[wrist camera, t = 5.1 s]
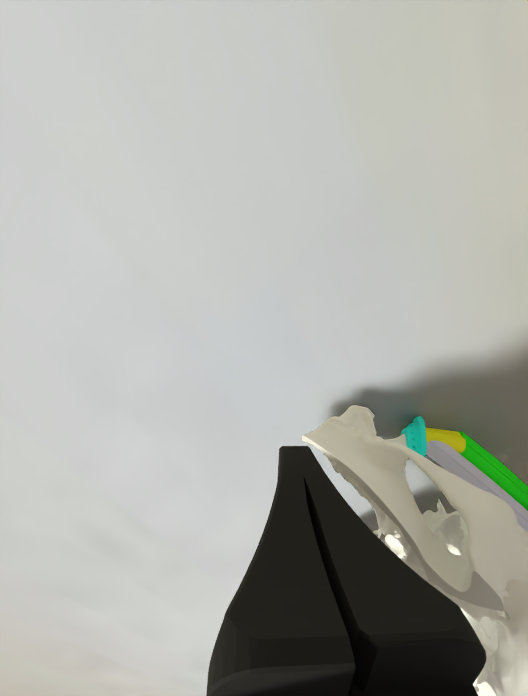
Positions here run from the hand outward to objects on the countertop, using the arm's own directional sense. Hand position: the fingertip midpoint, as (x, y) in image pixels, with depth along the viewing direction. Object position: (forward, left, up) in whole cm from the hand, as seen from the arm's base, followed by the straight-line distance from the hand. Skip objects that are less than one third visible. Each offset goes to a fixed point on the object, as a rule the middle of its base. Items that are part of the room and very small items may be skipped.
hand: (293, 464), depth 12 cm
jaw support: (+1, +8, -3) cm, 8 cm away
